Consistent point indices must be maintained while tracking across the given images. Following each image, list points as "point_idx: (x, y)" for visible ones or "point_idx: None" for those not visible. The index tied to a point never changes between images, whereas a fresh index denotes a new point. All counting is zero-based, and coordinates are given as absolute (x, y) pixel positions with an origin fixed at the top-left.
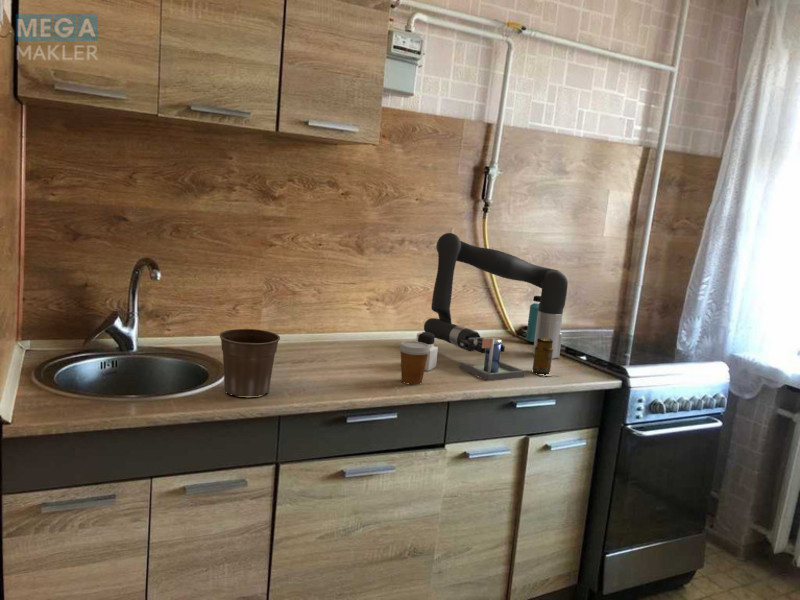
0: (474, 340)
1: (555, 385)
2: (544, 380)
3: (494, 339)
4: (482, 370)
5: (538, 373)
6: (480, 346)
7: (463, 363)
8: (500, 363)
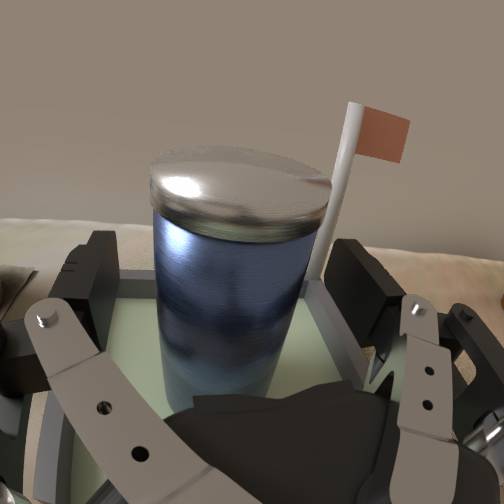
0: (442, 369)
1: (86, 221)
2: (64, 250)
3: (242, 165)
4: None
5: (3, 291)
6: (374, 265)
7: None
8: (65, 428)
